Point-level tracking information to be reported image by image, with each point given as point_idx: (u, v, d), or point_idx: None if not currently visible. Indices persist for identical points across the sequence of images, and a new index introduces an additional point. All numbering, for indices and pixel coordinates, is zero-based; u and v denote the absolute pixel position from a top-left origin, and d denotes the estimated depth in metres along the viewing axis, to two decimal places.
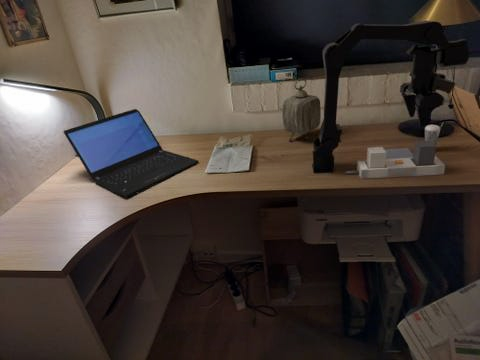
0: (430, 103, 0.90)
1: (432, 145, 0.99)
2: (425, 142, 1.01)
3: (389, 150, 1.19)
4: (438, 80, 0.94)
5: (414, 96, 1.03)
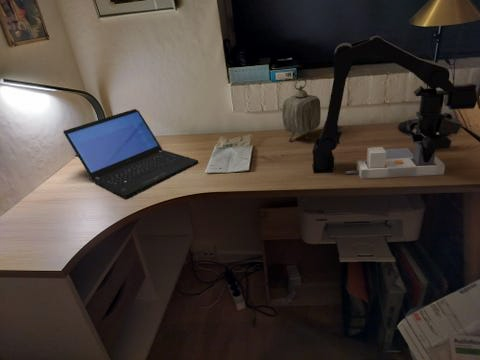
0: (437, 146, 0.91)
1: None
2: None
3: (389, 150, 1.19)
4: (445, 121, 0.94)
5: (423, 136, 1.02)
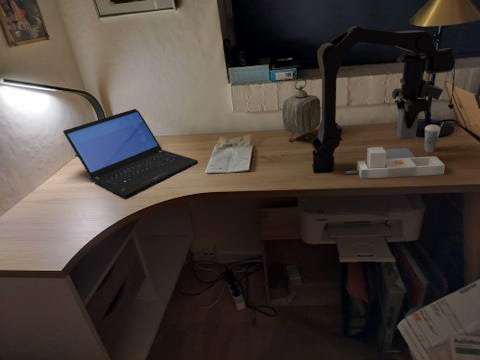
0: (417, 109, 0.95)
1: None
2: None
3: (389, 150, 1.19)
4: (426, 87, 0.99)
5: None
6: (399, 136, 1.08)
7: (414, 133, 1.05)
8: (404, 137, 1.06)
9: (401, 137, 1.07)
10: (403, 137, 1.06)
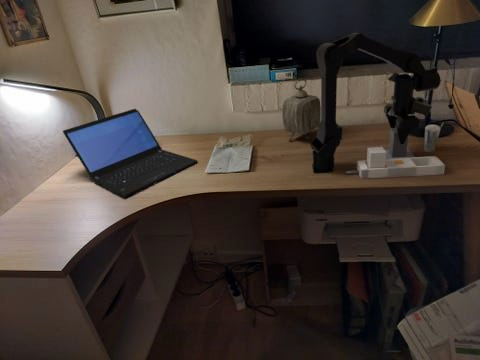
0: (408, 125, 1.01)
1: None
2: None
3: None
4: (416, 104, 1.04)
5: (397, 117, 1.14)
6: (391, 154, 1.14)
7: (405, 151, 1.12)
8: (395, 155, 1.13)
9: (393, 155, 1.13)
10: (395, 155, 1.13)
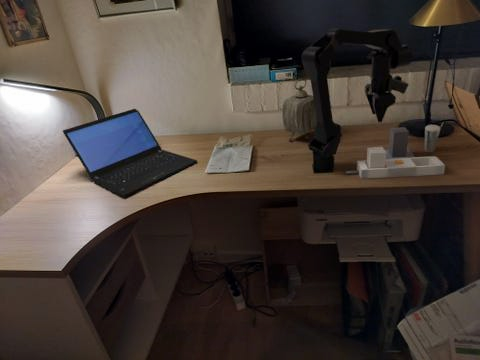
0: (383, 101, 1.03)
1: (405, 131, 1.09)
2: (399, 128, 1.12)
3: None
4: (393, 81, 1.06)
5: None
6: (391, 154, 1.14)
7: (405, 151, 1.12)
8: (395, 155, 1.13)
9: (393, 155, 1.13)
10: (395, 155, 1.13)
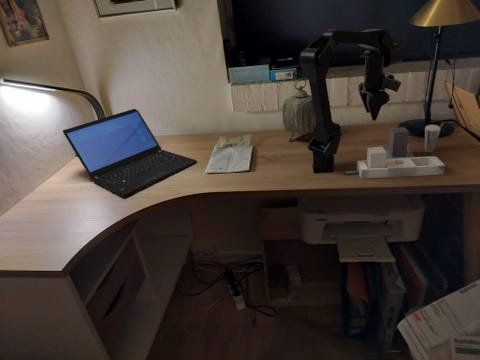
0: (377, 100, 1.04)
1: (405, 131, 1.09)
2: (399, 128, 1.12)
3: None
4: (386, 80, 1.08)
5: None
6: (391, 154, 1.14)
7: (405, 151, 1.12)
8: (395, 155, 1.13)
9: (393, 155, 1.13)
10: (395, 155, 1.13)
